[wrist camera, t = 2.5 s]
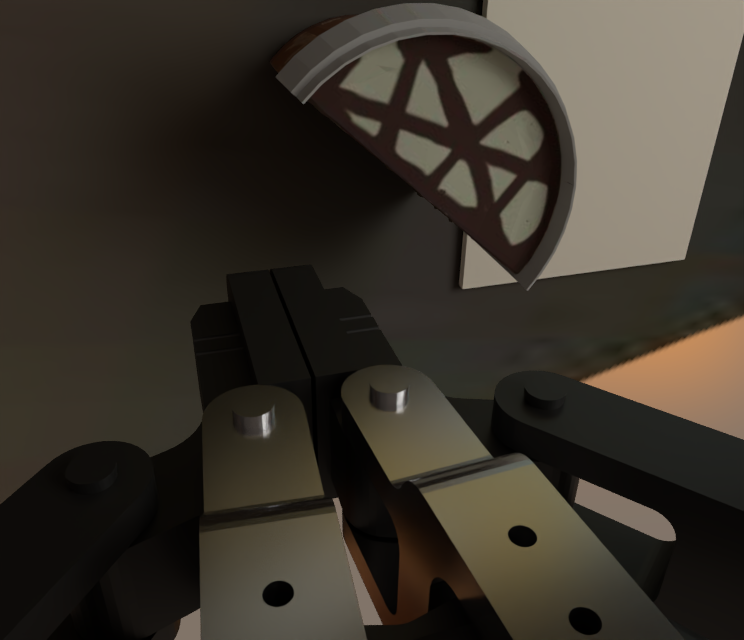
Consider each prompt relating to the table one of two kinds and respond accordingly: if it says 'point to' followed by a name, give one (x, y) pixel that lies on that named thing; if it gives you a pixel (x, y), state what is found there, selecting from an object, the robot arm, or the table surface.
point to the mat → (626, 121)
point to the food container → (449, 119)
